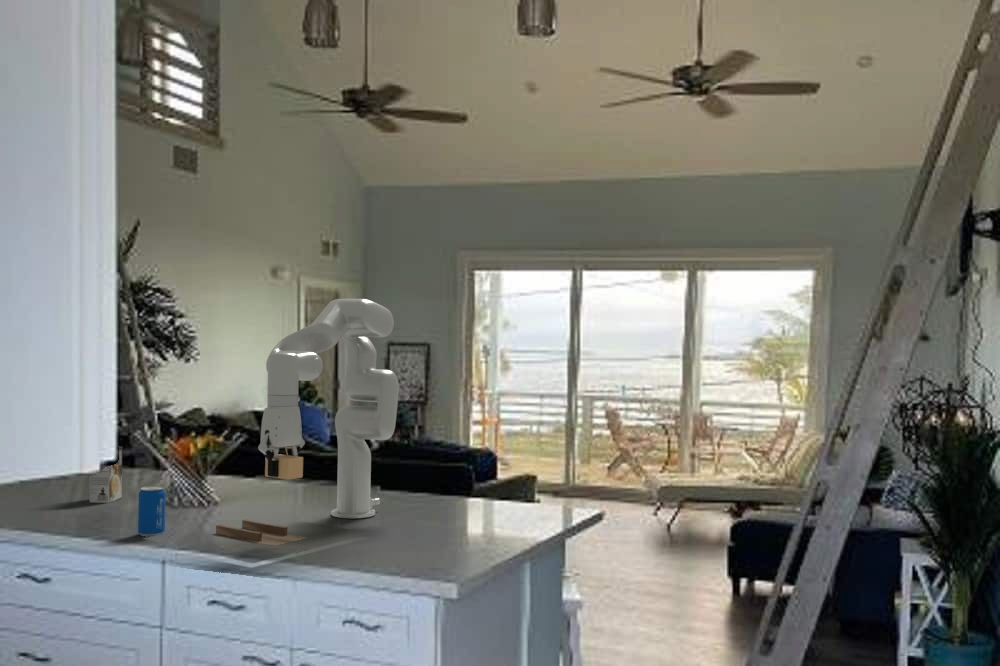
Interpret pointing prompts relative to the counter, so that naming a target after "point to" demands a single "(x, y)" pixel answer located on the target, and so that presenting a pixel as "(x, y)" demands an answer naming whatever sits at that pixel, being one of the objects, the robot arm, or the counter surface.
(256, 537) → the brown piece
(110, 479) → the coffee box
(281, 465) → the block
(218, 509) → the counter surface
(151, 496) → the beverage can
